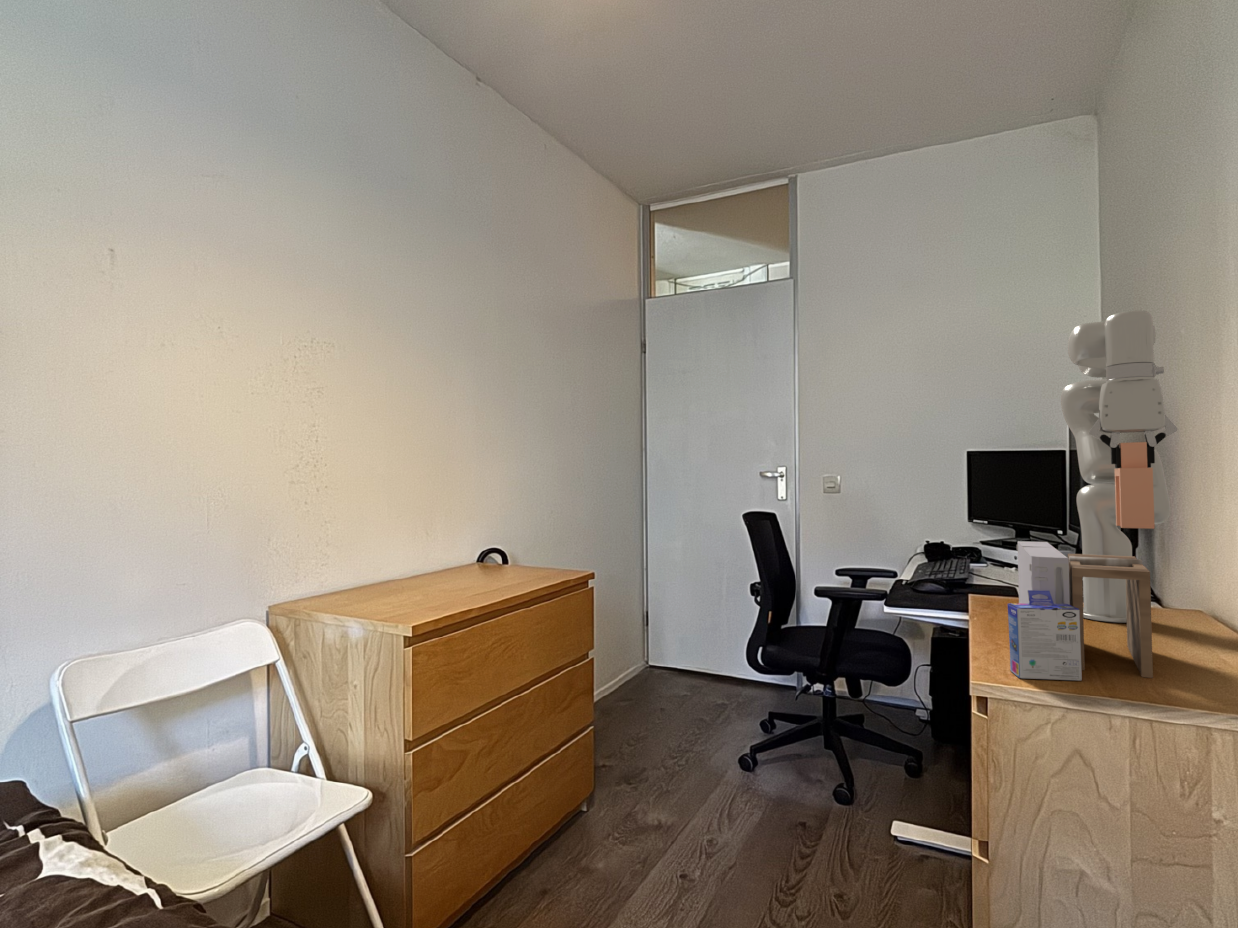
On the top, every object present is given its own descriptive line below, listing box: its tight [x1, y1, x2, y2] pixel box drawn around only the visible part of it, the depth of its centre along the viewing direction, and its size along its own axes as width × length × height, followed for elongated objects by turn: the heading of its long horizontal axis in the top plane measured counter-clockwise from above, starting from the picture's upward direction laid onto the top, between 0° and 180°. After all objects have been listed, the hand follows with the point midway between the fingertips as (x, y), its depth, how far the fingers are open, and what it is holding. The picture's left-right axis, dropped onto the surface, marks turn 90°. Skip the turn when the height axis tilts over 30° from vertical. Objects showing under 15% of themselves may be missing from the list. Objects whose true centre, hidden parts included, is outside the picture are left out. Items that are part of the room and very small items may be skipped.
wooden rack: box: [1067, 553, 1154, 679], centre depth 125 cm, size 22×11×19 cm, turn 148°
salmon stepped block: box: [1114, 441, 1156, 530], centre depth 131 cm, size 8×5×16 cm, turn 149°
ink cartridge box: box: [1007, 590, 1083, 682], centre depth 116 cm, size 10×6×14 cm, turn 78°
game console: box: [1016, 540, 1070, 605], centre depth 132 cm, size 6×27×20 cm, turn 154°
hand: (1132, 466), depth 131 cm, fingers closed on salmon stepped block, 4 cm apart
